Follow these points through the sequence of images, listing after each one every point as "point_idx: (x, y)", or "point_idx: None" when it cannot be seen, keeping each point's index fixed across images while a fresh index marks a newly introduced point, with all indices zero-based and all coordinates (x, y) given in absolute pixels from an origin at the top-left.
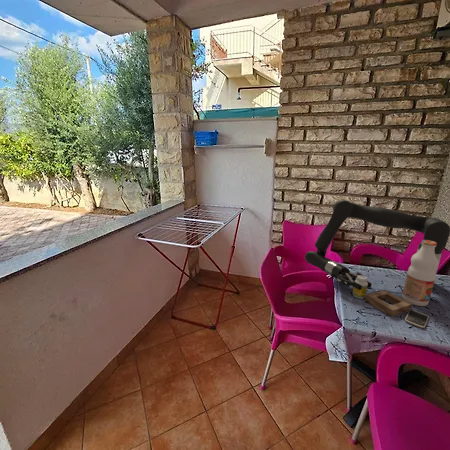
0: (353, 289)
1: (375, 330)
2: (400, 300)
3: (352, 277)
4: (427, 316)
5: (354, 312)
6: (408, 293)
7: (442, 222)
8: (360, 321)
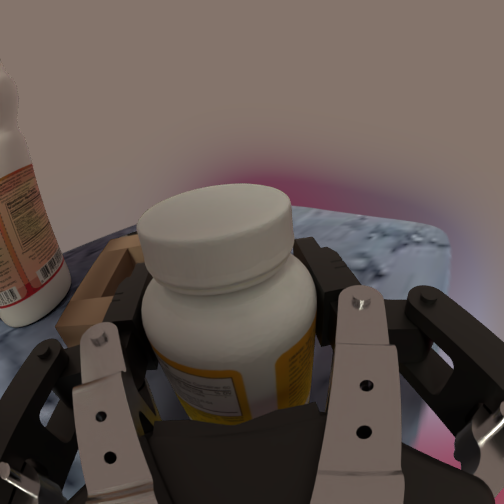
0: (305, 398)
1: (360, 216)
2: (116, 255)
3: (248, 430)
4: (128, 234)
5: (398, 270)
6: (47, 256)
7: None
8: (393, 237)
